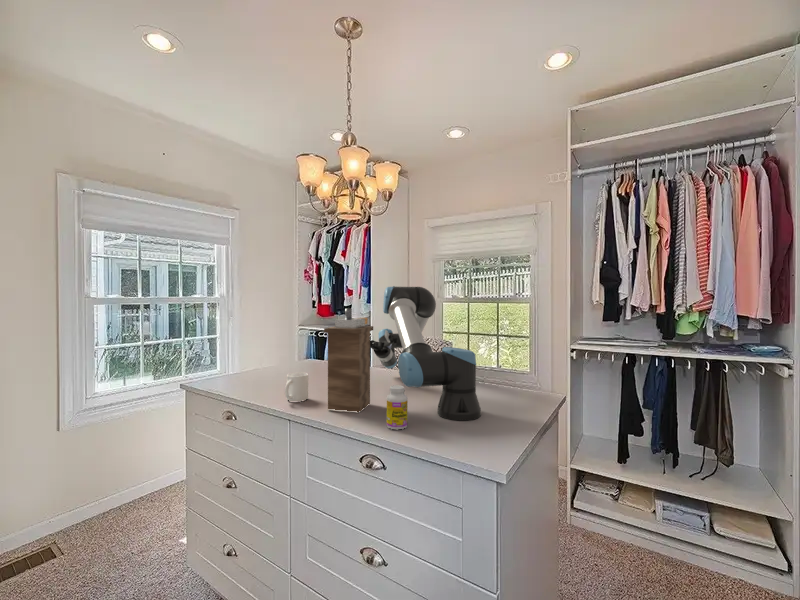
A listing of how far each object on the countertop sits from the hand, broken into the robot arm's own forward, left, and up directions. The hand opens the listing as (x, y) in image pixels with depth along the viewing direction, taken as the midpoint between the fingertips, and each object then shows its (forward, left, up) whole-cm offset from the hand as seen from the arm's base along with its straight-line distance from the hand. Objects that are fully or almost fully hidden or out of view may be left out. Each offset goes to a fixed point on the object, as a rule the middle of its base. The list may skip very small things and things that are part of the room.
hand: (370, 332), depth 169 cm
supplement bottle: (-41, +25, -26) cm, 54 cm away
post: (-13, +22, -26) cm, 36 cm away
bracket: (-10, +16, +4) cm, 20 cm away
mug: (+9, +32, -26) cm, 42 cm away
